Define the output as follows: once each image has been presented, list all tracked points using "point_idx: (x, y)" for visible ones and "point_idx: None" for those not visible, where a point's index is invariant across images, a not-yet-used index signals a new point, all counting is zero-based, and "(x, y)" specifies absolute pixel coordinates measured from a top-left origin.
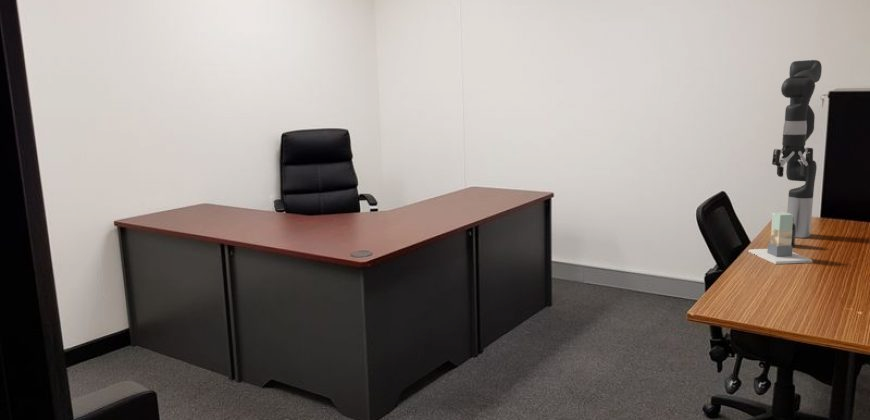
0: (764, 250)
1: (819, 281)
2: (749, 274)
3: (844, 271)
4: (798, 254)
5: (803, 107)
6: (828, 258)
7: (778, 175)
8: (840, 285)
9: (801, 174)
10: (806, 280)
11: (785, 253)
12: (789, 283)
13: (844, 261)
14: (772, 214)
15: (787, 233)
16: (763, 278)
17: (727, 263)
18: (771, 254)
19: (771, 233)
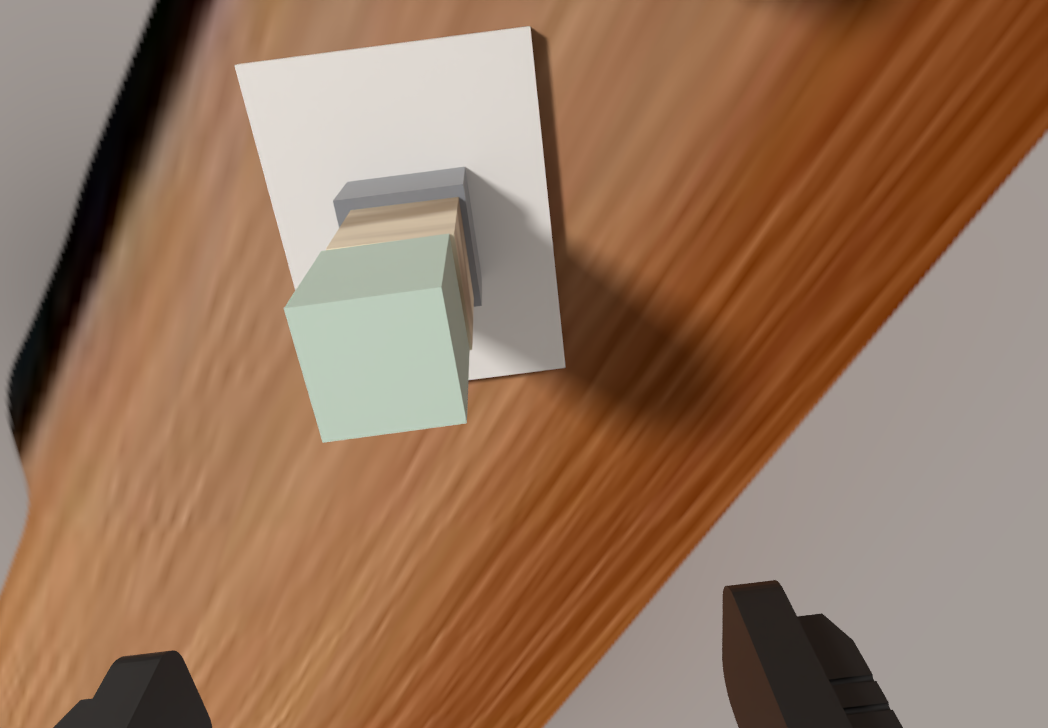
0: (351, 104)
1: (423, 652)
2: (124, 567)
3: (633, 517)
4: (549, 234)
5: None
6: (722, 266)
7: (125, 680)
8: (484, 693)
9: (730, 649)
10: (372, 641)
11: None
12: (277, 677)
13: (769, 337)
14: (290, 302)
15: None
16: (180, 620)
17: (31, 372)
18: None
19: (336, 235)
